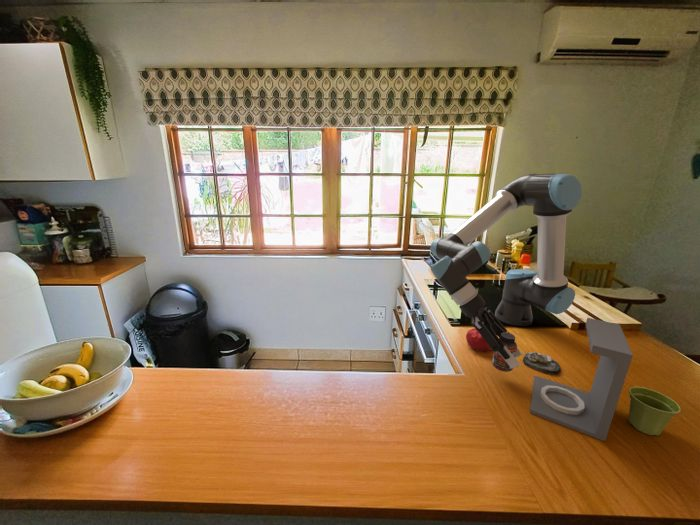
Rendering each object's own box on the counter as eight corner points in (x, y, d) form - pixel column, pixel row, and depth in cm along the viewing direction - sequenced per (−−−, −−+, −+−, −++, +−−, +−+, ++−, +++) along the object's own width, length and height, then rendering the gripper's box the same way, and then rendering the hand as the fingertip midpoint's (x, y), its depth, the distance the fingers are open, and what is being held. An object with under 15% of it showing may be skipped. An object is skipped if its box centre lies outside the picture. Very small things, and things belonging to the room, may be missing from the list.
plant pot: (621, 407, 84) (630, 381, 82) (669, 427, 78) (680, 399, 75) (618, 425, 78) (627, 398, 75) (669, 448, 71) (681, 419, 69)
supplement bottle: (489, 367, 95) (494, 335, 92) (495, 359, 99) (500, 328, 96) (509, 375, 91) (515, 342, 88) (515, 366, 95) (521, 334, 92)
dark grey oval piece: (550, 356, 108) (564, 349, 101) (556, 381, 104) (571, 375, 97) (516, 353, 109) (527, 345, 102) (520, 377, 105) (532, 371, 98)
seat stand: (534, 378, 96) (549, 309, 89) (597, 398, 87) (619, 324, 81) (529, 412, 81) (547, 333, 75) (605, 441, 73) (632, 355, 66)
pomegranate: (464, 350, 111) (467, 328, 108) (465, 337, 120) (468, 316, 117) (493, 356, 107) (497, 333, 105) (492, 342, 116) (496, 321, 113)
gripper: (465, 295, 106) (510, 351, 102) (450, 315, 91) (501, 381, 87) (483, 284, 101) (530, 342, 97) (470, 303, 86) (525, 372, 82)
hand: (516, 360), depth 92 cm, fingers closed on supplement bottle, 6 cm apart
